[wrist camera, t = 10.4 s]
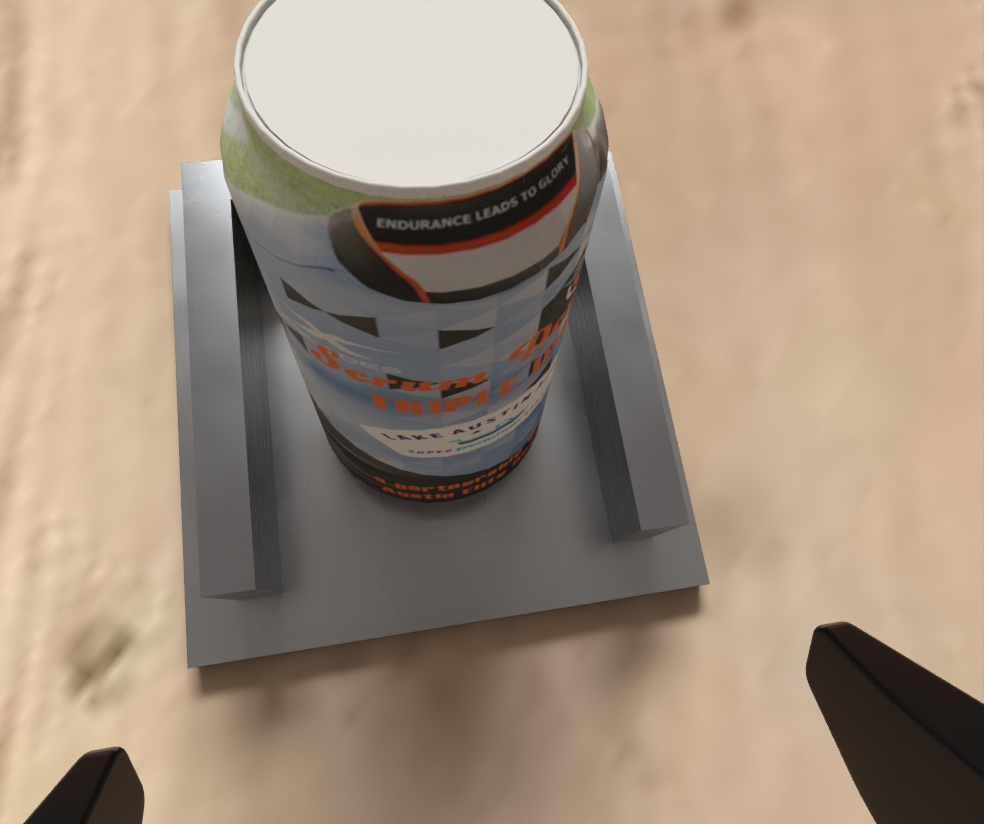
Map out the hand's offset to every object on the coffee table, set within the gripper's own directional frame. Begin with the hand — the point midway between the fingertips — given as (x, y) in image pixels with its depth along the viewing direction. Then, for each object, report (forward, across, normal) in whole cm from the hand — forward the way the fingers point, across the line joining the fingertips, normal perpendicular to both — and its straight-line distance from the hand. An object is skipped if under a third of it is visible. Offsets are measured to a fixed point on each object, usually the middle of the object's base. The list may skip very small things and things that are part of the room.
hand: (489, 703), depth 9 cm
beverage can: (+12, 0, +2) cm, 13 cm away
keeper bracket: (+13, 0, +2) cm, 13 cm away
